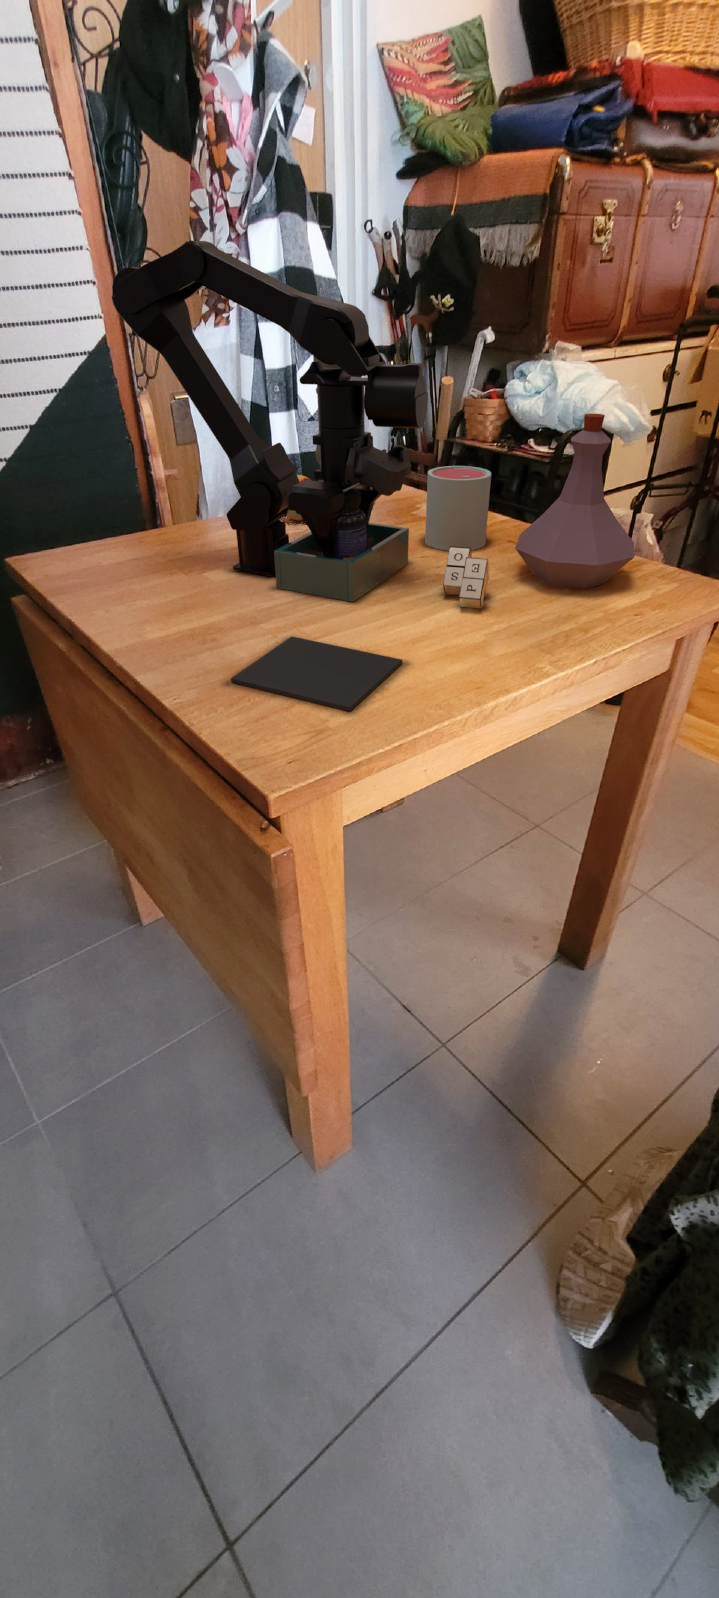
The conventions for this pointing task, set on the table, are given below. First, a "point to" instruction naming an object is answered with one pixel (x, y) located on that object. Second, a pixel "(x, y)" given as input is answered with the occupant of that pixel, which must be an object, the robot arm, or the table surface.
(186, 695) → the table surface
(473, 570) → the building blocks
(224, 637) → the table surface
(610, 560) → the flask
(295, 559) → the teal open box
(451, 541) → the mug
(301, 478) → the ball
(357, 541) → the pill bottle
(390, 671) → the mat
